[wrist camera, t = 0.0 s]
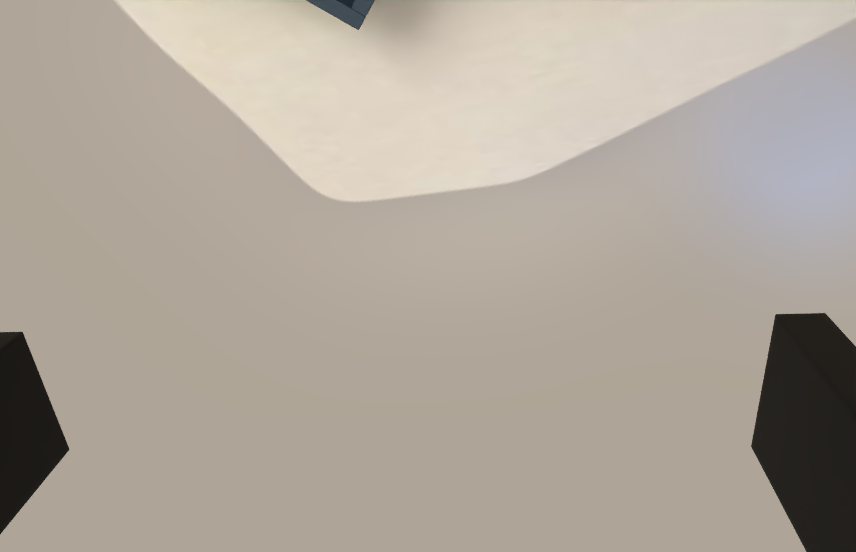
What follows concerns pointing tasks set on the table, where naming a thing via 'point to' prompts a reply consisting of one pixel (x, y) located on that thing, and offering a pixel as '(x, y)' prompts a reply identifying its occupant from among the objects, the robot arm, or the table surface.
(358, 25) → the tray
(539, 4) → the table surface
